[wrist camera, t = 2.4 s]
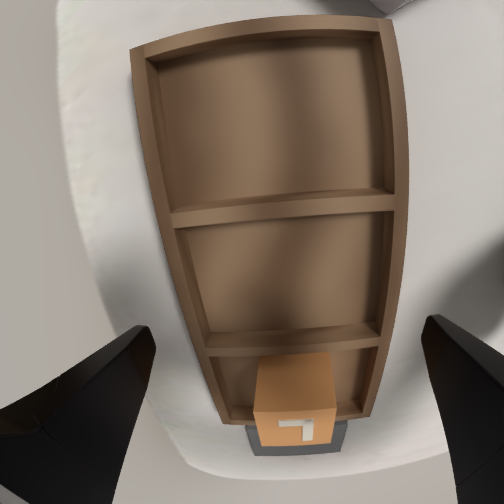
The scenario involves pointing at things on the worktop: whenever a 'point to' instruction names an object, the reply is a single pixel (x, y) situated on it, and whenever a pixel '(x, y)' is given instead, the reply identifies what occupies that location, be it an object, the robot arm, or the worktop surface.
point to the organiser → (280, 194)
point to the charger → (389, 5)
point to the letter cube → (295, 399)
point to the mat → (300, 449)
